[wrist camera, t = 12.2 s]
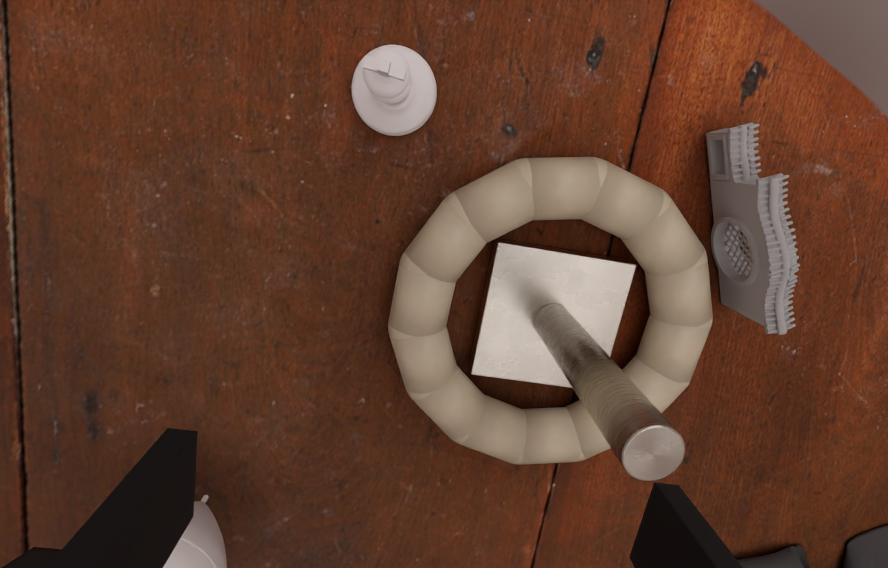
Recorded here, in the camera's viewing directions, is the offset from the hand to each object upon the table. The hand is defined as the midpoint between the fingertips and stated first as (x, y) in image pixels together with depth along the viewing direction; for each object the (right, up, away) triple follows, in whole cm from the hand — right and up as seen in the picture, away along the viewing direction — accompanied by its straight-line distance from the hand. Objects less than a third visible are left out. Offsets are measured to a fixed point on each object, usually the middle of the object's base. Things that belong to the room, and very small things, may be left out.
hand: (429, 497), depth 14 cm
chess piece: (-2, +17, +15) cm, 23 cm away
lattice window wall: (+19, +10, +18) cm, 28 cm away
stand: (+7, +4, +19) cm, 21 cm away
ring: (+7, +4, +17) cm, 19 cm away
